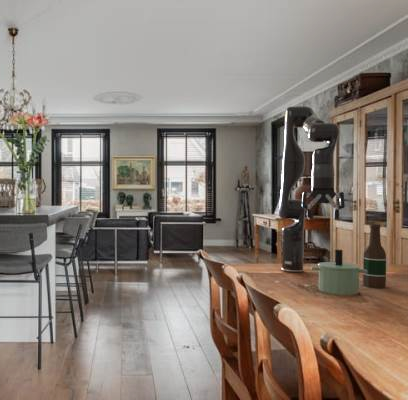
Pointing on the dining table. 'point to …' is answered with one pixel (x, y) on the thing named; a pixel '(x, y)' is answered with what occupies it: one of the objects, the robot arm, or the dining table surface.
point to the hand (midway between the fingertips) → (322, 219)
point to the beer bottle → (374, 260)
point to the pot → (339, 280)
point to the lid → (338, 262)
